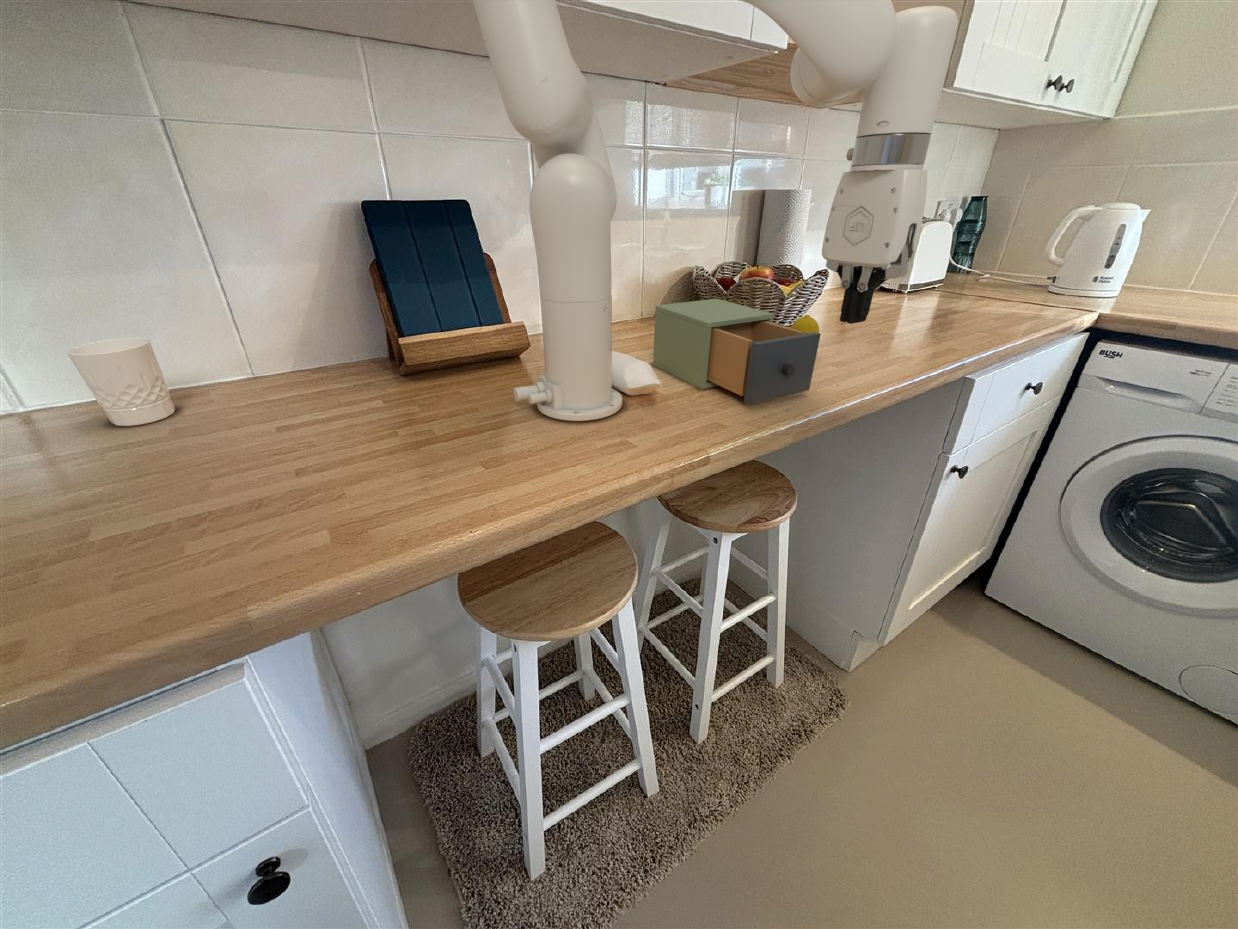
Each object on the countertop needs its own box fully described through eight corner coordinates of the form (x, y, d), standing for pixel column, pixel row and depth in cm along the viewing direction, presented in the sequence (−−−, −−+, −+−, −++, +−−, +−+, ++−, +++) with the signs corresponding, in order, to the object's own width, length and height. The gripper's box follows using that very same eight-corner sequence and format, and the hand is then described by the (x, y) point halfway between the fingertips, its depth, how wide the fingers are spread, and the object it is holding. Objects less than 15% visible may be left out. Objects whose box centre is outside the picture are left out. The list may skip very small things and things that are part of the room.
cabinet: (764, 376, 85) (774, 313, 80) (701, 389, 79) (708, 322, 74) (711, 354, 96) (716, 298, 91) (652, 364, 90) (655, 305, 85)
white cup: (189, 403, 73) (158, 335, 68) (168, 423, 66) (133, 350, 62) (122, 410, 70) (86, 340, 65) (94, 432, 64) (51, 357, 59)
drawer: (815, 392, 76) (827, 335, 72) (754, 407, 70) (764, 346, 66) (749, 366, 87) (756, 315, 83) (693, 377, 82) (697, 323, 77)
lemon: (810, 353, 98) (818, 311, 94) (817, 361, 93) (826, 318, 89) (782, 352, 98) (789, 311, 94) (787, 360, 93) (795, 317, 89)
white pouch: (639, 410, 71) (642, 372, 69) (595, 386, 80) (596, 351, 77) (671, 402, 74) (674, 366, 72) (625, 380, 83) (627, 347, 80)
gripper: (812, 159, 60) (788, 314, 69) (933, 151, 48) (885, 338, 57) (853, 160, 63) (826, 308, 72) (976, 152, 51) (925, 329, 60)
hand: (852, 321), depth 64 cm, fingers closed
